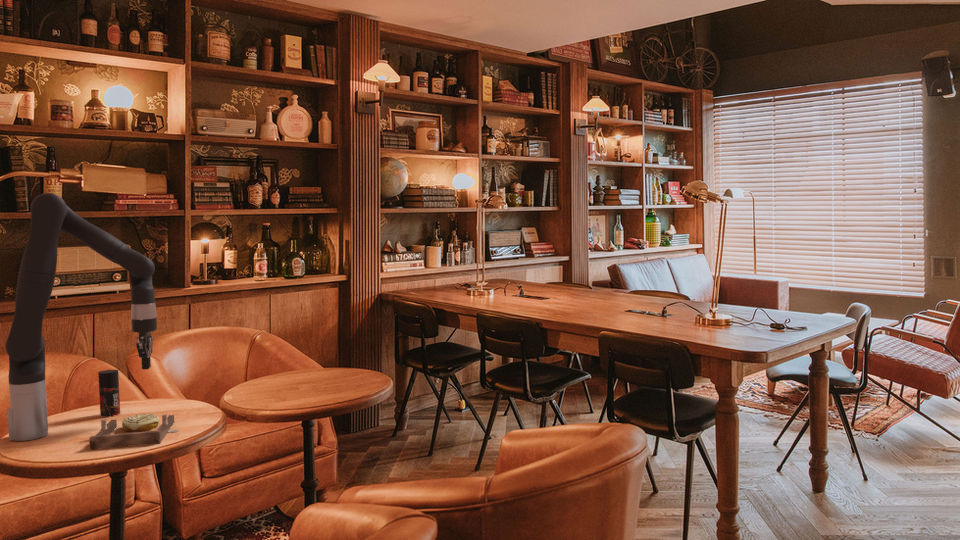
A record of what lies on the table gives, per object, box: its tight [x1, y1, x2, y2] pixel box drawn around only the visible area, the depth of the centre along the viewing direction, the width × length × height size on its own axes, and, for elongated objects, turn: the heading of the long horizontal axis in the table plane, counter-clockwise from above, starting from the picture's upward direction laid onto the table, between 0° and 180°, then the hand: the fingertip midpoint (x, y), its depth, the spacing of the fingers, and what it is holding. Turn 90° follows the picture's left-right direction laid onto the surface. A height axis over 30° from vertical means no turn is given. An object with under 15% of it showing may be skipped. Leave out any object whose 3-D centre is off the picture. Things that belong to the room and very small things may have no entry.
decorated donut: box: [121, 413, 160, 433], centre depth 210 cm, size 10×11×4 cm
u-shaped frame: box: [89, 413, 178, 450], centre depth 202 cm, size 25×22×6 cm
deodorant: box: [97, 369, 121, 417], centre depth 225 cm, size 6×6×15 cm
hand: (146, 368), depth 219 cm, fingers closed
